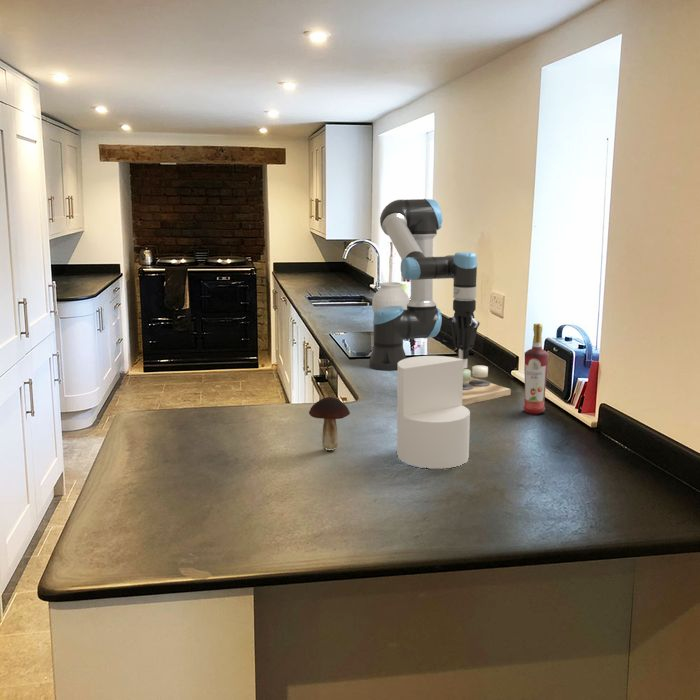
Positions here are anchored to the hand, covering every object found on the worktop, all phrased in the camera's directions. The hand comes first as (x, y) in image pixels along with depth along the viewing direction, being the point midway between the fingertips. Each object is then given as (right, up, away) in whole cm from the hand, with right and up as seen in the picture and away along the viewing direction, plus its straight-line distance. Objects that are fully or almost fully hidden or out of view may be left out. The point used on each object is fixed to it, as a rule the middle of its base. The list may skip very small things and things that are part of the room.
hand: (462, 367), depth 245 cm
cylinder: (-17, -22, -56) cm, 62 cm away
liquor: (+19, -14, -20) cm, 31 cm away
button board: (0, -9, +2) cm, 9 cm away
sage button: (0, -4, +1) cm, 4 cm away
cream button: (+7, -3, +5) cm, 9 cm away
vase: (-19, +13, +101) cm, 103 cm away
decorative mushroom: (-44, -21, -51) cm, 71 cm away
